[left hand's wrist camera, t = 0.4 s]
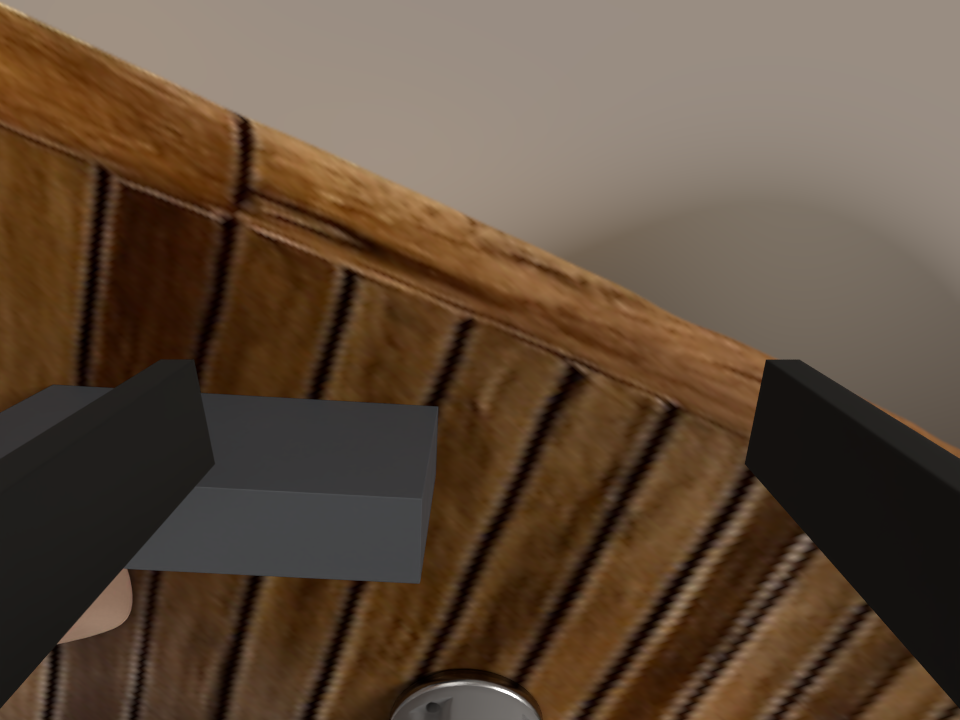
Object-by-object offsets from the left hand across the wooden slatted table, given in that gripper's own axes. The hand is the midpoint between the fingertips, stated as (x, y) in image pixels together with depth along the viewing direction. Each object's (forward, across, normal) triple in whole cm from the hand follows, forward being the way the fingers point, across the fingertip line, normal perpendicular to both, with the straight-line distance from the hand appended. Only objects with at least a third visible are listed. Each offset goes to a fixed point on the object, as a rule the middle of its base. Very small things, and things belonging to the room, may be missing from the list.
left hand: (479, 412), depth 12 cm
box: (+25, +18, +14) cm, 34 cm away
